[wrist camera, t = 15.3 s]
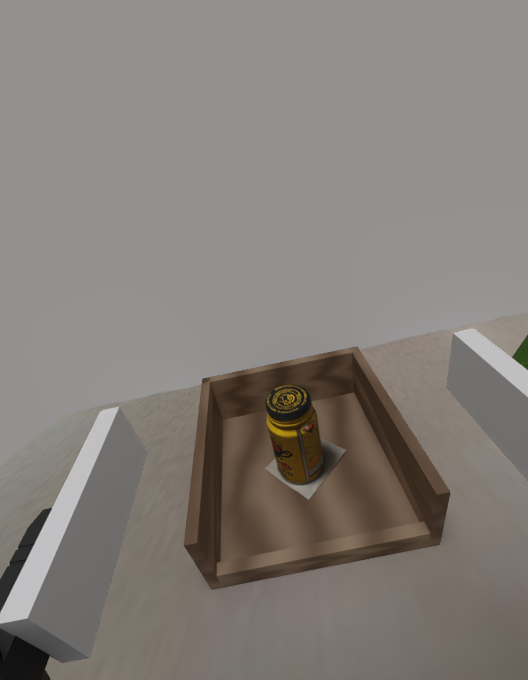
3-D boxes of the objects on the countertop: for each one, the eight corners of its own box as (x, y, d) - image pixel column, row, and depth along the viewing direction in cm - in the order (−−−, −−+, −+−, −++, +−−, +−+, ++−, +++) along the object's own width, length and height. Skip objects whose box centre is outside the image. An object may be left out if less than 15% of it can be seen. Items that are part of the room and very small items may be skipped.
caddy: (359, 391, 54) (357, 346, 49) (439, 544, 33) (450, 492, 28) (218, 421, 54) (202, 378, 49) (211, 589, 33) (183, 545, 29)
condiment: (264, 469, 43) (245, 404, 37) (302, 428, 48) (291, 364, 41) (309, 501, 38) (295, 432, 32) (346, 451, 43) (341, 383, 37)
